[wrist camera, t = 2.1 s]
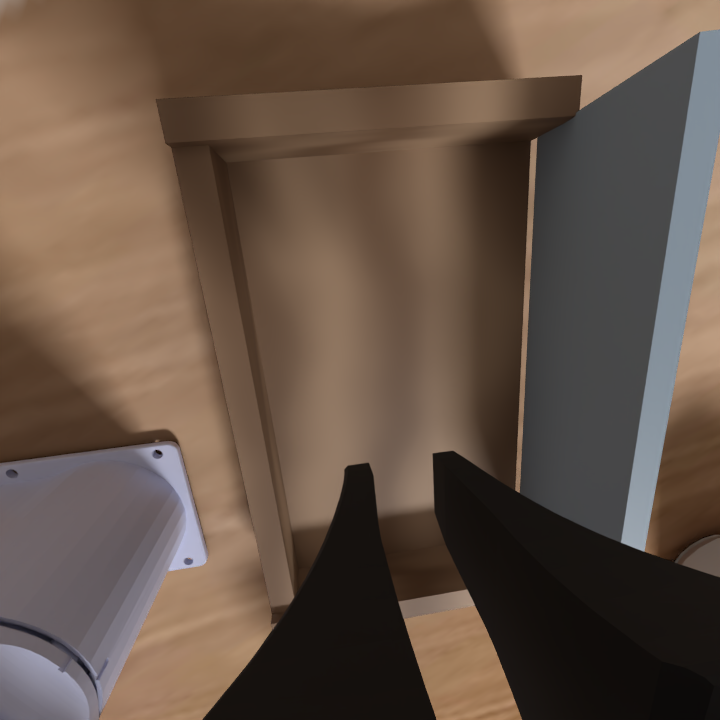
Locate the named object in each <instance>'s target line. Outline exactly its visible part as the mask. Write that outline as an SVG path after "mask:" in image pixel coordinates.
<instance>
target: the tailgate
mask: <svg viewBox="0 0 720 720" xmlns="http://www.w3.org/2000/svg"><path fill="white" fill-rule="evenodd" d="M719 133H720V30H712V31H704V32H699V33H698V34H696V35H695V36H693V37H692V38H690V39H688V40H687V41H685V42H684V43H682V44H681V45H679V46H678V47H676V48H675V49H673V50H672V51H670V52H668V53H667V54H665V55H664V56H662V57H661V58H659V59H658V60H656V61H655V62H653V63H652V64H650V65H648V66H647V67H645V68H644V69H642V70H641V71H639V72H638V73H636V74H635V75H633V76H632V77H630V78H628V79H627V80H625V81H624V82H622V83H621V84H619V85H618V86H616V87H615V88H613V89H612V90H610V91H608V92H607V93H605V94H604V95H602V96H601V97H599V98H598V99H596V100H595V101H593V102H592V103H590V104H588V105H587V106H585V107H584V108H582V109H581V110H579V111H578V112H576V116H575V117H573V118H572V119H570V120H569V121H567V122H565V123H564V124H562V125H560V126H558V127H556V128H554V129H552V130H551V131H549V132H547V133H545V134H543V135H541V136H539V137H538V138H537V158H536V178H535V198H534V219H533V239H532V259H531V279H530V300H529V320H528V340H527V360H526V381H525V401H524V421H523V441H522V462H521V482H520V494H522V495H523V496H525V497H527V498H529V499H531V500H532V501H534V502H536V503H538V504H540V505H541V506H543V507H545V508H547V509H549V510H551V511H553V512H554V513H556V514H558V515H560V516H562V517H564V518H567V519H569V520H571V521H573V522H575V523H577V524H579V525H581V526H583V527H586V528H588V529H590V530H592V531H594V532H597V533H599V534H601V535H604V536H606V537H608V538H611V539H613V540H616V541H618V542H621V543H623V544H626V545H628V546H631V547H633V548H636V549H638V550H641V551H644V550H645V545H646V539H647V534H648V528H649V522H650V517H651V511H652V506H653V500H654V495H655V489H656V484H657V478H658V472H659V467H660V461H661V456H662V450H663V445H664V439H665V434H666V428H667V422H668V417H669V411H670V406H671V400H672V395H673V389H674V384H675V378H676V372H677V367H678V361H679V356H680V350H681V345H682V339H683V334H684V328H685V322H686V317H687V311H688V306H689V300H690V295H691V289H692V284H693V278H694V272H695V267H696V261H697V256H698V250H699V245H700V239H701V234H702V228H703V222H704V217H705V211H706V206H707V200H708V195H709V189H710V183H711V178H712V172H713V167H714V161H715V156H716V150H717V145H718V139H719Z"/></svg>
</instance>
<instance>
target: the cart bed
mask: <svg viewBox="0 0 720 720" xmlns="http://www.w3.org/2000/svg"><path fill="white" fill-rule="evenodd" d="M581 83H582V75H576V76H559V77H541V78H523V79H505V80H488V81H470V82H452V83H435V84H417V85H399V86H382V87H364V88H346V89H329V90H311V91H293V92H275V93H258V94H240V95H222V96H205V97H187V98H169V99H156V102H157V107H158V111H159V116H160V121H161V125H162V130H163V134H164V139H165V143H166V144H167V145H169V146H170V147H171V148H172V152H173V157H174V161H175V166H176V171H177V175H178V180H179V185H180V189H181V194H182V198H183V203H184V208H185V212H186V217H187V222H188V226H189V231H190V236H191V240H192V245H193V249H194V254H195V259H196V263H197V268H198V273H199V277H200V282H201V287H202V291H203V296H204V300H205V305H206V310H207V314H208V319H209V324H210V328H211V333H212V337H213V342H214V347H215V351H216V356H217V361H218V365H219V370H220V375H221V379H222V384H223V388H224V393H225V398H226V402H227V407H228V412H229V416H230V421H231V425H232V430H233V435H234V439H235V444H236V449H237V453H238V458H239V463H240V467H241V472H242V476H243V481H244V486H245V490H246V495H247V500H248V504H249V509H250V514H251V518H252V523H253V527H254V532H255V537H256V541H257V546H258V551H259V555H260V560H261V564H262V569H263V574H264V578H265V583H266V588H267V592H268V597H269V602H270V606H271V611H272V621H271V626H272V630H273V629H274V627H275V626H276V624H277V623H278V621H279V620H280V619H281V617H282V616H283V614H284V613H285V611H286V610H287V608H288V606H289V605H290V603H291V602H292V600H293V598H294V597H295V595H296V593H297V591H298V590H299V588H300V586H301V585H302V583H303V581H304V579H305V578H306V576H307V574H308V572H309V570H310V568H311V567H312V565H313V563H314V561H315V559H316V557H317V555H318V553H319V550H320V548H321V546H322V544H323V542H324V539H325V537H326V534H327V532H328V529H329V527H330V524H331V522H332V519H333V517H334V514H335V511H336V507H337V504H338V501H339V498H340V494H341V490H342V486H343V481H344V469H345V468H346V467H347V466H348V465H355V464H362V463H369V464H370V467H371V469H372V472H373V475H374V485H375V494H376V504H377V513H378V523H379V530H380V535H381V540H382V544H383V548H384V551H385V555H386V559H387V563H388V567H389V570H390V574H391V577H392V581H393V585H394V588H395V592H396V595H397V599H398V602H399V605H400V609H401V612H402V615H403V619H404V618H410V617H416V616H421V615H427V614H432V613H438V612H443V611H449V610H454V609H460V608H465V607H471V606H475V604H474V602H473V600H472V598H471V596H470V594H469V592H468V590H467V588H466V586H465V584H464V582H463V580H462V578H461V576H460V574H459V572H458V569H457V567H456V565H455V563H454V561H453V559H452V557H451V555H450V553H449V551H448V549H447V547H446V544H445V541H444V538H443V536H442V533H441V530H440V527H439V524H438V521H437V518H436V515H435V512H434V485H433V455H432V453H439V452H446V451H455V452H456V453H458V454H459V455H461V456H463V457H464V458H466V459H467V460H469V461H470V462H472V463H473V464H475V465H476V466H478V467H479V468H481V469H482V470H484V471H485V472H487V473H488V474H490V475H491V476H493V477H494V478H496V479H497V480H499V481H501V482H502V483H504V484H505V485H507V486H509V487H510V488H512V489H513V490H515V482H516V460H517V437H518V415H519V393H520V370H521V348H522V325H523V303H524V280H525V258H526V236H527V213H528V191H529V168H530V146H531V140H533V139H535V138H537V137H539V136H541V135H543V134H545V133H547V132H549V131H551V130H552V129H554V128H556V127H558V126H560V125H562V124H564V123H565V122H567V121H569V120H570V119H572V118H573V117H575V116H576V112H578V111H579V109H580V96H581Z"/></svg>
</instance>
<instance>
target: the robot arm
mask: <svg viewBox="0 0 720 720" xmlns="http://www.w3.org/2000/svg"><path fill="white" fill-rule="evenodd" d="M155 450H160V451H161V452H162V453H163V454H162V455H159V454H157V453H156V452H155ZM432 455H433V485H434V512H435V515H436V518H437V521H438V524H439V527H440V530H441V533H442V536H443V538H444V541H445V544H446V547H447V549H448V551H449V553H450V555H451V557H452V559H453V561H454V563H455V565H456V567H457V569H458V572H459V574H460V576H461V578H462V580H463V582H464V584H465V586H466V588H467V590H468V592H469V594H470V596H471V598H472V600H473V602H474V604H475V606H476V608H477V610H478V612H479V614H480V616H481V618H482V620H483V623H484V625H485V627H486V629H487V631H488V633H489V636H490V638H491V640H492V642H493V645H494V647H495V649H496V652H497V655H498V657H499V660H500V662H501V665H502V668H503V670H504V673H505V675H506V678H507V680H508V683H509V686H510V688H511V691H512V693H513V696H514V699H515V701H516V704H517V707H518V709H519V712H520V715H521V717H522V720H720V577H718V576H714V575H711V574H708V573H705V572H702V571H699V570H696V569H693V568H690V567H687V566H684V565H681V564H678V563H675V562H671V561H669V560H666V559H663V558H660V557H657V556H655V555H652V554H649V553H646V552H644V551H641V550H638V549H636V548H633V547H631V546H628V545H626V544H623V543H621V542H618V541H616V540H613V539H611V538H608V537H606V536H604V535H601V534H599V533H597V532H594V531H592V530H590V529H588V528H586V527H583V526H581V525H579V524H577V523H575V522H573V521H571V520H569V519H567V518H564V517H562V516H560V515H558V514H556V513H554V512H553V511H551V510H549V509H547V508H545V507H543V506H541V505H540V504H538V503H536V502H534V501H532V500H531V499H529V498H527V497H525V496H523V495H522V494H520V493H518V492H517V491H515V490H513V489H512V488H510V487H509V486H507V485H505V484H504V483H502V482H501V481H499V480H497V479H496V478H494V477H493V476H491V475H490V474H488V473H487V472H485V471H484V470H482V469H481V468H479V467H478V466H476V465H475V464H473V463H472V462H470V461H469V460H467V459H466V458H464V457H463V456H461V455H459V454H458V453H456V452H455V451H446V452H439V453H432ZM12 469H13V470H15V471H16V472H17V473H18V474H17V473H15V472H14V471H13V470H12ZM188 558H191V559H188ZM207 558H208V551H207V548H206V544H205V540H204V537H203V533H202V529H201V525H200V522H199V518H198V514H197V510H196V507H195V503H194V499H193V496H192V492H191V488H190V484H189V481H188V477H187V473H186V469H185V466H184V462H183V458H182V455H181V451H180V448H179V446H178V444H176V443H175V442H172V441H164V442H156V443H149V444H141V445H134V446H126V447H119V448H111V449H103V450H96V451H88V452H81V453H73V454H66V455H58V456H51V457H43V458H35V459H28V460H20V461H13V462H5V463H0V720H99V717H100V715H101V713H102V711H103V709H104V707H105V705H106V702H107V700H108V698H109V696H110V694H111V692H112V690H113V687H114V685H115V683H116V681H117V679H118V677H119V675H120V672H121V670H122V668H123V666H124V664H125V662H126V660H127V657H128V655H129V653H130V651H131V649H132V647H133V645H134V642H135V640H136V638H137V636H138V634H139V632H140V630H141V627H142V625H143V623H144V621H145V619H146V617H147V615H148V612H149V610H150V608H151V606H152V604H153V602H154V600H155V597H156V595H157V593H158V591H159V589H160V587H161V585H162V582H163V580H164V578H165V576H166V574H167V572H168V571H172V570H178V569H184V568H191V567H197V566H201V565H203V564H205V563H206V561H207ZM203 720H436V717H435V714H434V711H433V708H432V705H431V702H430V699H429V696H428V693H427V691H426V688H425V685H424V682H423V679H422V675H421V672H420V669H419V666H418V663H417V660H416V657H415V654H414V651H413V648H412V645H411V642H410V639H409V635H408V632H407V629H406V625H405V622H404V619H403V615H402V612H401V609H400V605H399V602H398V599H397V595H396V592H395V588H394V585H393V581H392V577H391V574H390V570H389V567H388V563H387V559H386V555H385V551H384V548H383V544H382V540H381V535H380V530H379V523H378V513H377V504H376V494H375V485H374V475H373V472H372V469H371V467H370V464H369V463H362V464H355V465H348V466H347V467H346V468H345V469H344V481H343V486H342V490H341V494H340V498H339V501H338V504H337V507H336V511H335V514H334V517H333V519H332V522H331V524H330V527H329V529H328V532H327V534H326V537H325V539H324V542H323V544H322V546H321V548H320V550H319V553H318V555H317V557H316V559H315V561H314V563H313V565H312V567H311V568H310V570H309V572H308V574H307V576H306V578H305V579H304V581H303V583H302V585H301V586H300V588H299V590H298V591H297V593H296V595H295V597H294V598H293V600H292V602H291V603H290V605H289V606H288V608H287V610H286V611H285V613H284V614H283V616H282V617H281V619H280V620H279V621H278V623H277V624H276V626H275V627H274V629H273V630H272V631H271V633H270V634H269V636H268V637H267V638H266V640H265V641H264V643H263V644H262V646H261V647H260V648H259V650H258V651H257V653H256V654H255V655H254V657H253V658H252V659H251V661H250V662H249V663H248V665H247V666H246V667H245V668H244V670H243V671H242V672H241V673H240V674H239V676H238V677H237V678H236V679H235V681H234V682H233V683H232V684H231V686H230V687H229V688H228V689H227V690H226V692H225V693H224V694H223V695H222V697H221V698H220V699H219V700H218V701H217V703H216V704H215V705H214V706H213V708H212V709H211V710H210V711H209V712H208V714H207V715H206V716H205V717H204V718H203Z"/></svg>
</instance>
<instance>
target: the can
mask: <svg viewBox="0 0 720 720" xmlns="http://www.w3.org/2000/svg"><path fill="white" fill-rule="evenodd" d="M675 563H678V564H681V565H684V566H687V567H690V568H693V569H696V570H699V571H702V572H705V573H708V574H711V575H714V576H718V577H720V535H713V536H709V537H706V538H702V539H701V540H699V541H697V542H695V543H693V544H692V545H690V546H689V547H688V548H687V549H686V550H684V551H683V552H682V553H681V554H680V555H679V557H678V558H677V559H676V561H675Z"/></svg>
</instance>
